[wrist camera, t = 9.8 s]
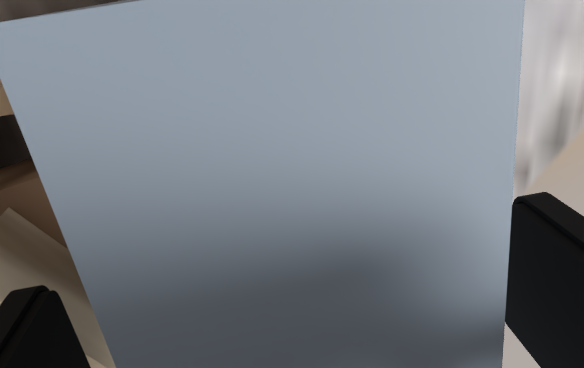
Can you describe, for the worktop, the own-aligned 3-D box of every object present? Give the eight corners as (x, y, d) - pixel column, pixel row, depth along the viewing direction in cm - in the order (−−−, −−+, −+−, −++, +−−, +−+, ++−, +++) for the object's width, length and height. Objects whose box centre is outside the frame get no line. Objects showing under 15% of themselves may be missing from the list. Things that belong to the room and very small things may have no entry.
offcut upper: (8, 207, 17) (-52, 268, 14) (189, 336, 21) (179, 412, 17) (-65, 282, 18) (-140, 358, 14) (120, 394, 21) (96, 479, 18)
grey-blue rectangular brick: (304, -30, 18) (527, -60, 4) (336, 236, 23) (486, 614, 9) (176, -9, 18) (-21, 26, 4) (235, 254, 23) (237, 670, 9)
